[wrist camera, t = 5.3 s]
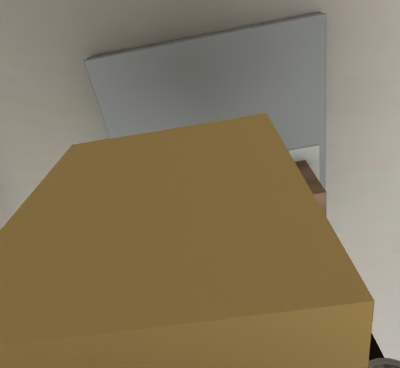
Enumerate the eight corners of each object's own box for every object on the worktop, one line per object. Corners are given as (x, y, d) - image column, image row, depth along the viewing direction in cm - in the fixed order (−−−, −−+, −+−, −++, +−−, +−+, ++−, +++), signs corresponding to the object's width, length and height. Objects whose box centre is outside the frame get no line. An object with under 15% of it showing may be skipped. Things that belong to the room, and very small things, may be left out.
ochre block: (72, 145, 9) (-108, 359, 4) (266, 112, 9) (374, 301, 3) (124, 286, 11) (60, 539, 6) (278, 266, 11) (353, 518, 6)
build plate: (88, 57, 23) (83, 61, 22) (319, 11, 22) (327, 13, 21) (154, 260, 32) (153, 271, 31) (320, 235, 31) (325, 245, 30)
